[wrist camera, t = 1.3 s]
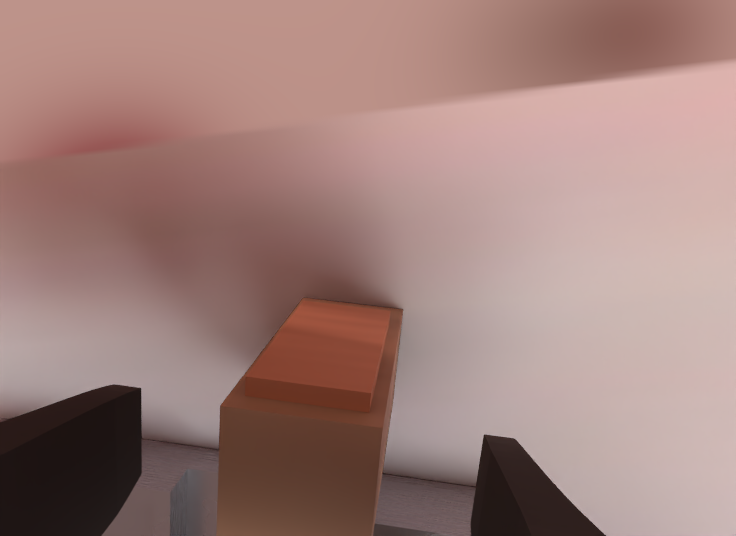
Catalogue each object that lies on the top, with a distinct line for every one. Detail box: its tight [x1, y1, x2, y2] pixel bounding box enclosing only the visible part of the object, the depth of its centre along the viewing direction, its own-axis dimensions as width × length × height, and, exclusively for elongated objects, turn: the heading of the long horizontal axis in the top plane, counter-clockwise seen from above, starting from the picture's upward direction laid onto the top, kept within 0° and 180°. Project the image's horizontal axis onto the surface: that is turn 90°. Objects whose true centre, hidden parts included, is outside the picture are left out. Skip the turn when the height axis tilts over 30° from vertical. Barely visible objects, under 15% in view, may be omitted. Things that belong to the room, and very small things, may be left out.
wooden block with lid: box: [216, 298, 403, 536], centre depth 14 cm, size 3×3×7 cm
